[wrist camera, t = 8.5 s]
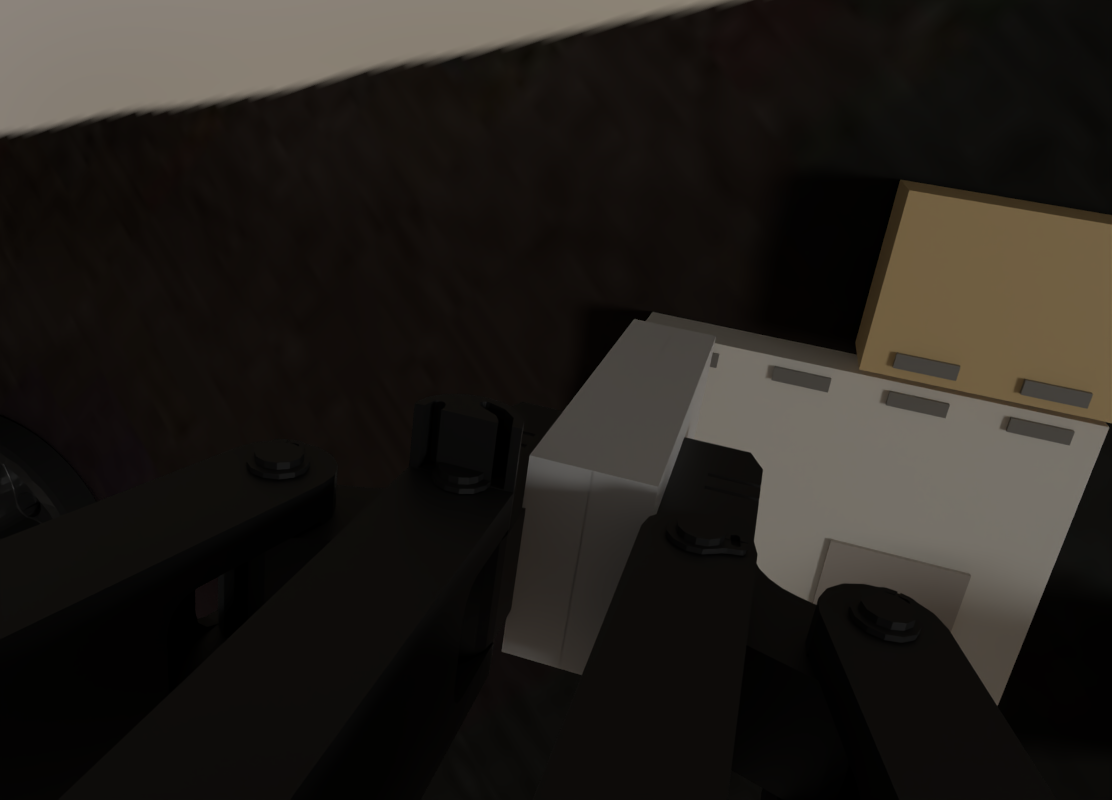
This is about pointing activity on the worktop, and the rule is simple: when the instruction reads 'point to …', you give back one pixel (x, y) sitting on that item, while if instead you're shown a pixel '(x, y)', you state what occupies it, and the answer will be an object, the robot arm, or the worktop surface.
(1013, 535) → the flat white box
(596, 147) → the worktop surface
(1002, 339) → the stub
